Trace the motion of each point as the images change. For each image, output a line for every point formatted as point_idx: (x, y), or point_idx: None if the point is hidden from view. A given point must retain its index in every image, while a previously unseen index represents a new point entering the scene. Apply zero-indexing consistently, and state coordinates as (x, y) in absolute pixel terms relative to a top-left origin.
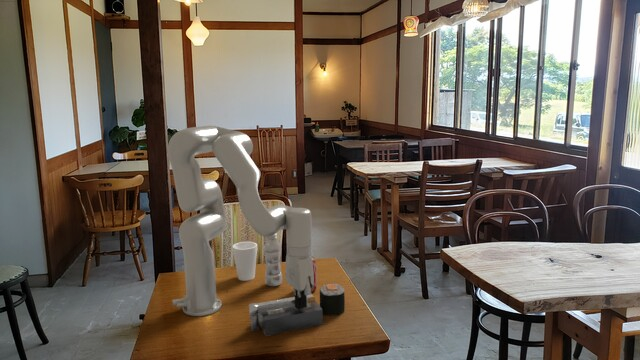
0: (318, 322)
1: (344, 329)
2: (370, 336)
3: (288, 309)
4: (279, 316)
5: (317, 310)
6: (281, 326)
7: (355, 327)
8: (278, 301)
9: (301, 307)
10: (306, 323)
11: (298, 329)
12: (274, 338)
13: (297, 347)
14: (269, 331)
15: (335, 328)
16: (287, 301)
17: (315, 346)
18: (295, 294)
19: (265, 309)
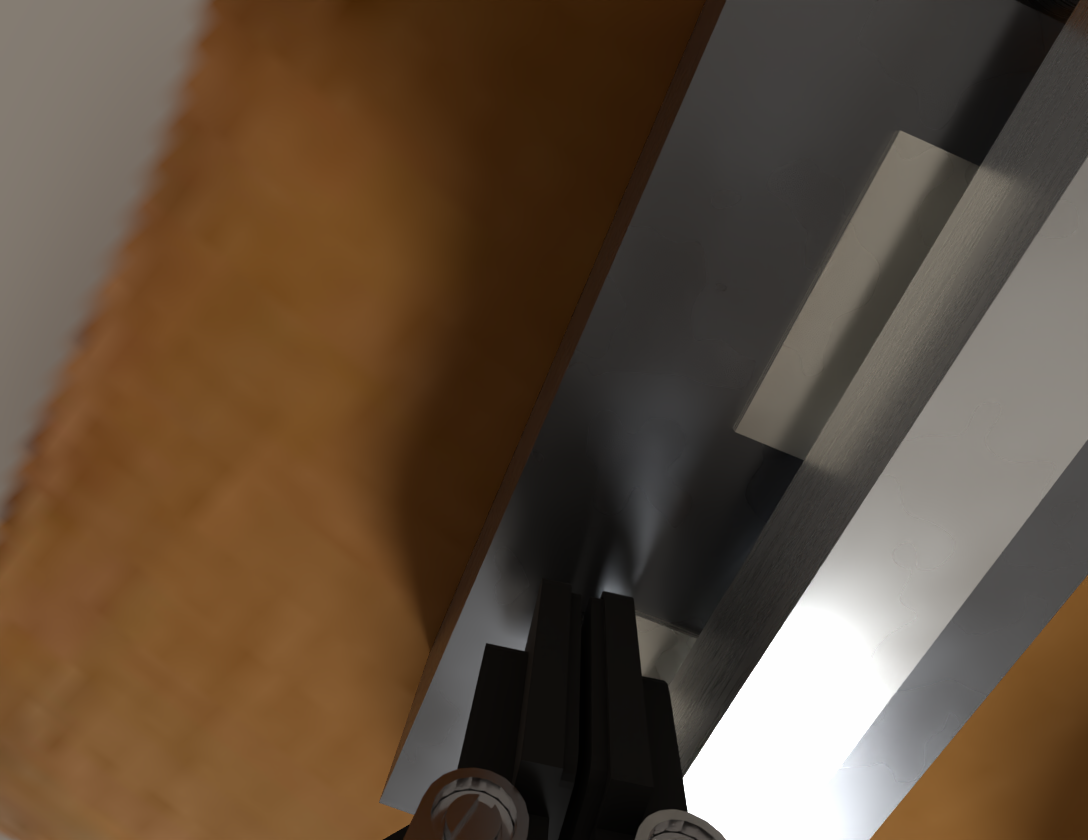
0: (436, 640)
1: (226, 715)
2: (3, 762)
3: (744, 516)
4: (670, 243)
5: (401, 752)
6: (613, 232)
7: (199, 789)
8: (958, 458)
9: (525, 648)
10: (483, 534)
11: (527, 424)
12: (570, 58)
13: (201, 145)
14: (691, 45)
15: (292, 679)
16: (798, 594)
17: (108, 316)
18: (646, 824)
19: (1045, 95)
